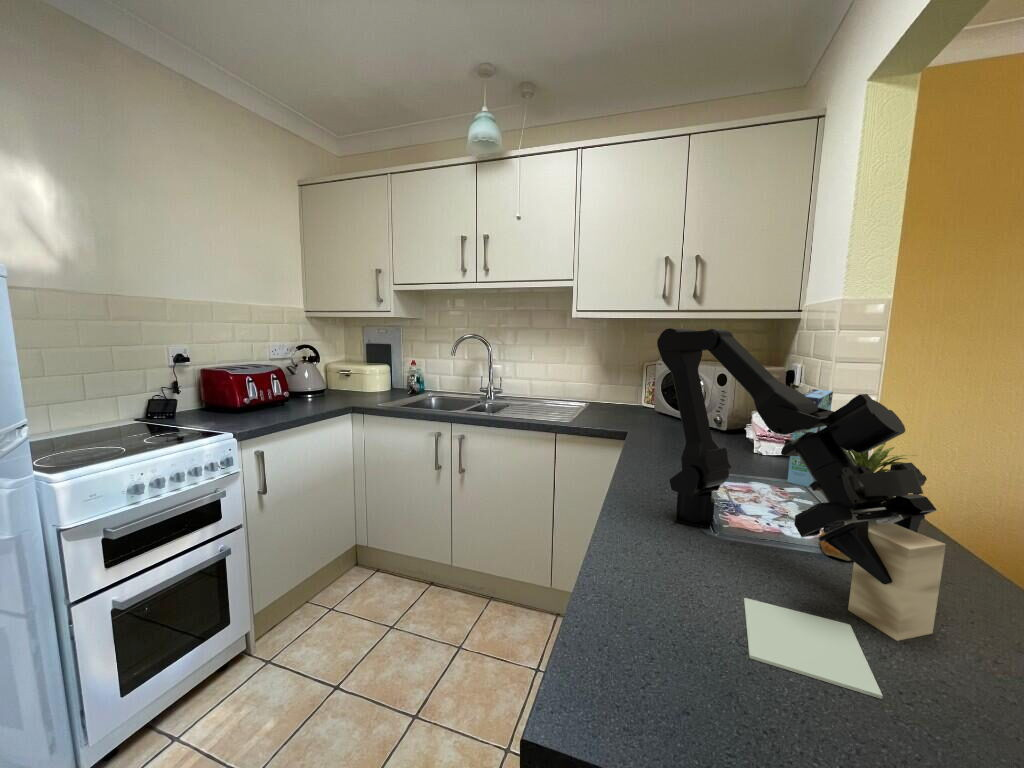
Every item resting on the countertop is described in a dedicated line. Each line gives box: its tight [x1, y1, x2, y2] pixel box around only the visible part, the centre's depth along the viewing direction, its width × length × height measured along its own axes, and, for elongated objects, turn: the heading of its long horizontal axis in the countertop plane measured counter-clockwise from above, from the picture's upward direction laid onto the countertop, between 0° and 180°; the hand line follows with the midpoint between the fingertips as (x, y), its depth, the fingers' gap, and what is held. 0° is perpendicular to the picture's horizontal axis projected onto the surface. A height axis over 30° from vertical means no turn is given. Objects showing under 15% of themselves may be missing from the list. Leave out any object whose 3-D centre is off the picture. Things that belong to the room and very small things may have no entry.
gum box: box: [786, 388, 834, 488], centre depth 112 cm, size 20×5×23 cm, turn 134°
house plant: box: [846, 442, 920, 514], centre depth 88 cm, size 14×14×16 cm
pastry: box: [819, 530, 852, 562], centre depth 74 cm, size 9×7×4 cm
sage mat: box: [743, 597, 883, 700], centre depth 51 cm, size 12×12×1 cm
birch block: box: [847, 523, 947, 642], centre depth 55 cm, size 6×6×12 cm
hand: (907, 580), depth 53 cm, fingers closed on birch block, 6 cm apart
